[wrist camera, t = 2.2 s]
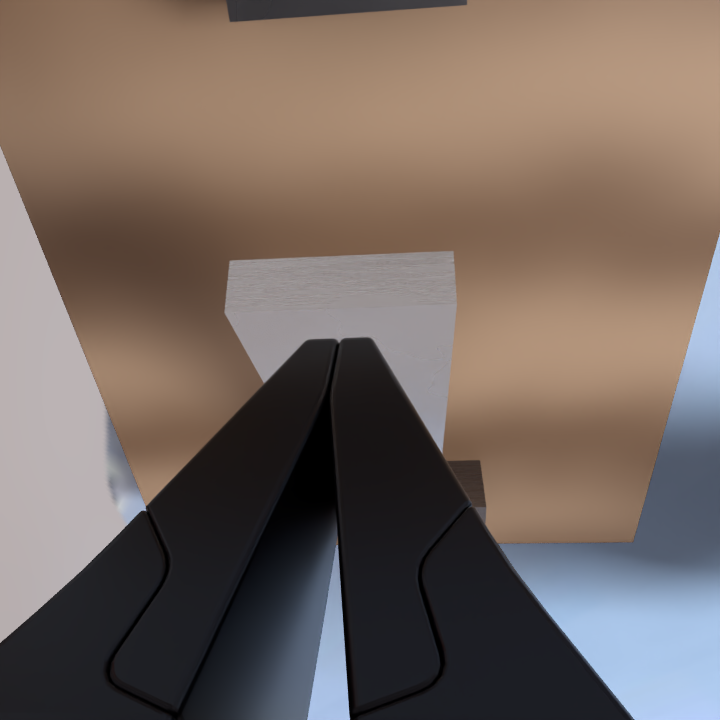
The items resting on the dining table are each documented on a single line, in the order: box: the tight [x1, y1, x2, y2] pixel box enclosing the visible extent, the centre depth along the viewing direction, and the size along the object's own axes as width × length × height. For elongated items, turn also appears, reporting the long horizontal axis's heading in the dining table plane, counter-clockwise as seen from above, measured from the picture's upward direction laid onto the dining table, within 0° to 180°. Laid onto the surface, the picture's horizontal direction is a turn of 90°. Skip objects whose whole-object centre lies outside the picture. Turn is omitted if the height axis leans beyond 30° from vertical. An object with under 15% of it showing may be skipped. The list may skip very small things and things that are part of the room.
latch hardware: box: [226, 0, 486, 523], centre depth 16 cm, size 16×6×2 cm, turn 4°
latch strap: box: [224, 251, 457, 452], centre depth 15 cm, size 14×3×1 cm, turn 5°
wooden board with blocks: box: [0, 0, 720, 545], centre depth 17 cm, size 22×16×3 cm
